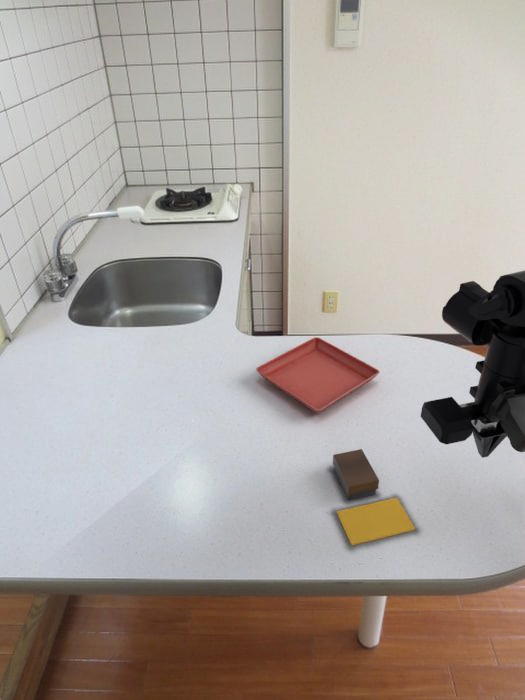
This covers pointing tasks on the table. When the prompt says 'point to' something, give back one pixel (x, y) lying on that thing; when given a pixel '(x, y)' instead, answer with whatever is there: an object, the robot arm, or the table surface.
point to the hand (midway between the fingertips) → (483, 455)
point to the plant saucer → (317, 374)
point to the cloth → (375, 521)
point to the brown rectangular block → (355, 474)
